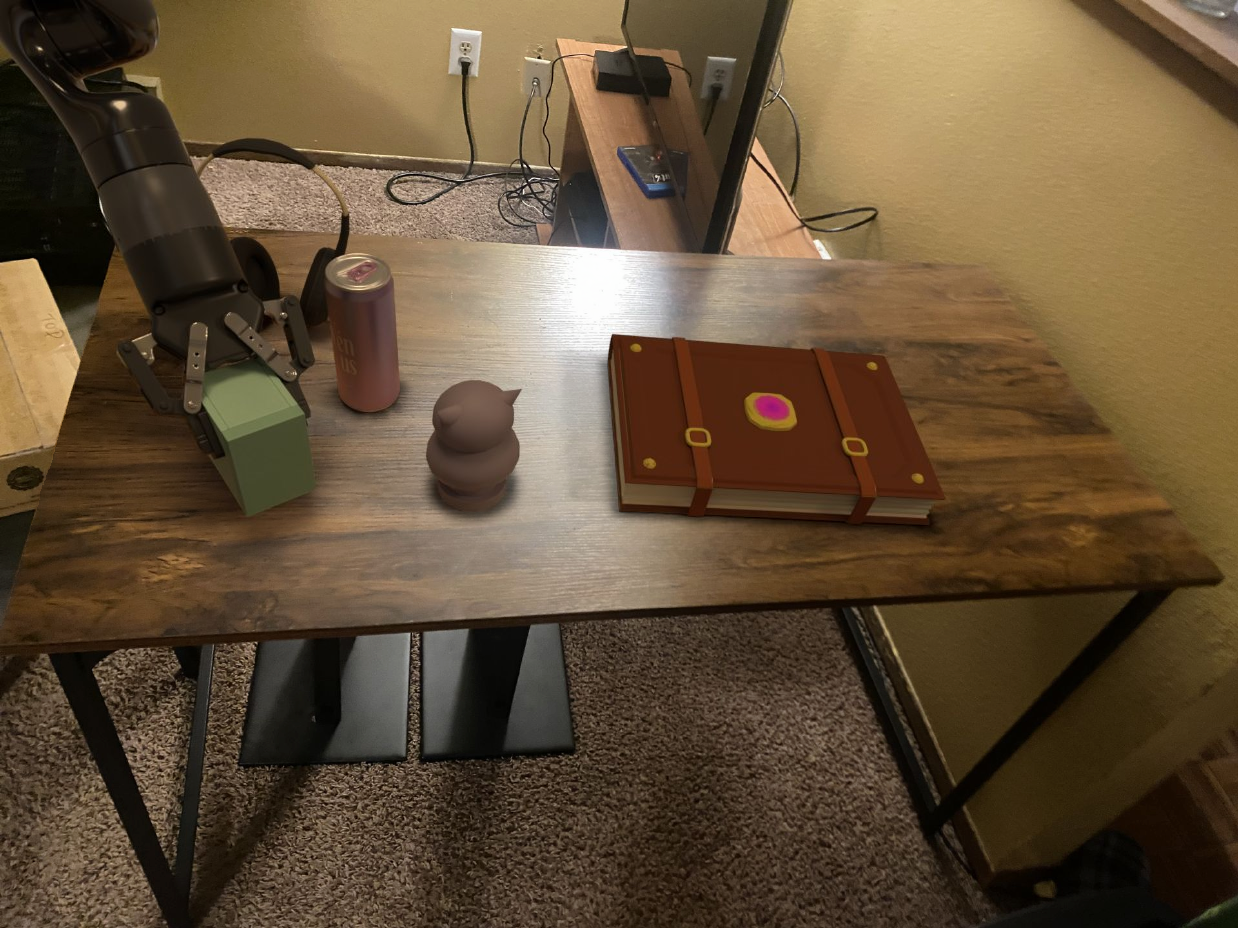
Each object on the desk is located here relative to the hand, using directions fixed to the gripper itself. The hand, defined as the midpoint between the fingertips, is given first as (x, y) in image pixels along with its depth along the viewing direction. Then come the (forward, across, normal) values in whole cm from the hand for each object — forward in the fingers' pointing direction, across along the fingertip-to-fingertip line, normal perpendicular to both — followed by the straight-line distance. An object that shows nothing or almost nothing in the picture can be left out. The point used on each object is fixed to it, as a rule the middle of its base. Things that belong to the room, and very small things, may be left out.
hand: (262, 441), depth 67 cm
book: (+18, +45, -6) cm, 49 cm away
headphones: (-11, +12, +24) cm, 29 cm away
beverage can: (0, +14, +13) cm, 19 cm away
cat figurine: (+11, +16, +2) cm, 19 cm away
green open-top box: (+3, 0, +5) cm, 6 cm away
